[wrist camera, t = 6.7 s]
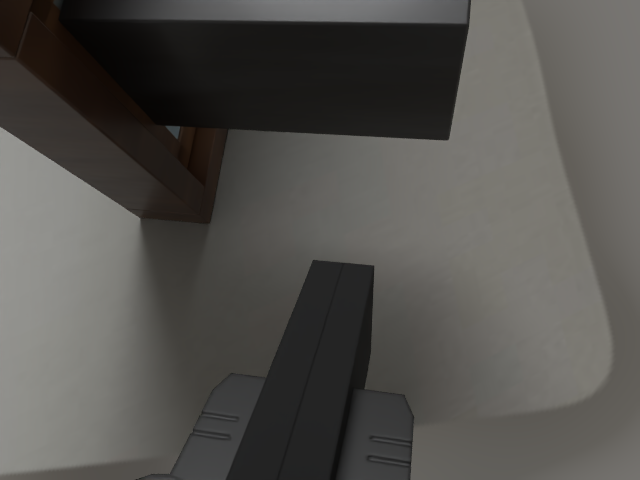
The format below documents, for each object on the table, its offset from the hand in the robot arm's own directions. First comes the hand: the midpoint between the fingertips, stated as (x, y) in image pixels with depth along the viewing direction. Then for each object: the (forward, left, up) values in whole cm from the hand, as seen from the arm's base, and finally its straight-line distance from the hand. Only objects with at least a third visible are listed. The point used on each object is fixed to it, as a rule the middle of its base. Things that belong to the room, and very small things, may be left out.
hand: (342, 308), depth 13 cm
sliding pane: (+10, -8, -10) cm, 17 cm away
